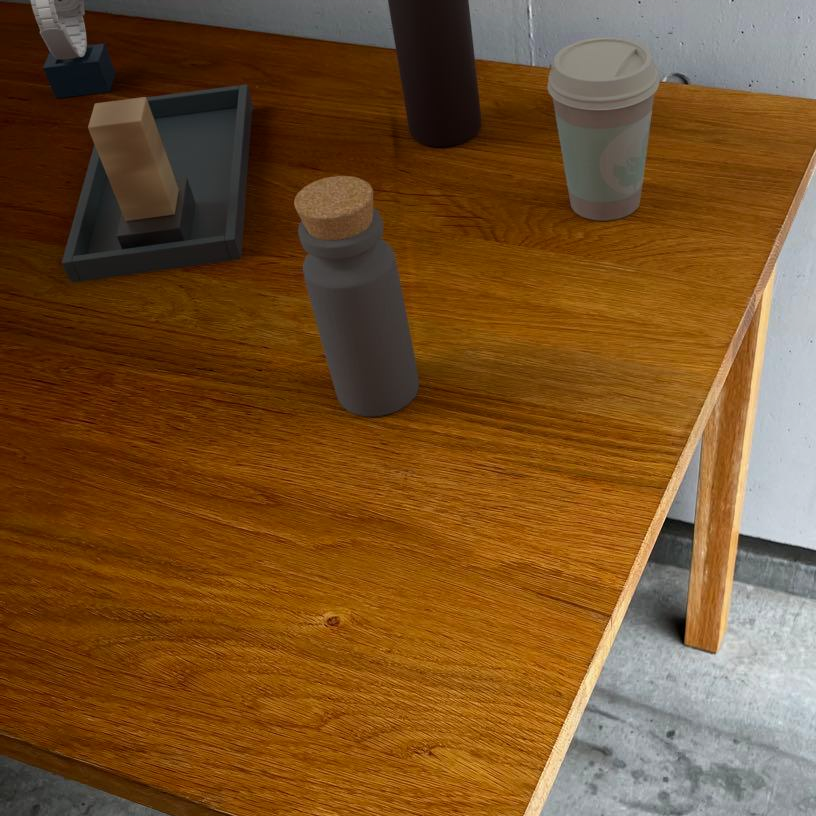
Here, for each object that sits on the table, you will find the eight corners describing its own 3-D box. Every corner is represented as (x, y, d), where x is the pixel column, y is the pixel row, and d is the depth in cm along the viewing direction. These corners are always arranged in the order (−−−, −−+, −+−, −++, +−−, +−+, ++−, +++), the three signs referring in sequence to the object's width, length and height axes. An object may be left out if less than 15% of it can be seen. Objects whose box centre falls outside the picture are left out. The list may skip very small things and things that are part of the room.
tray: (73, 288, 84) (61, 262, 83) (114, 126, 103) (105, 102, 101) (242, 264, 85) (234, 238, 83) (254, 108, 103) (247, 83, 102)
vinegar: (497, 126, 98) (473, -116, 83) (444, 156, 95) (409, -91, 80) (447, 106, 101) (416, -131, 86) (394, 134, 98) (353, -107, 83)
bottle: (406, 354, 76) (367, 161, 65) (430, 402, 72) (393, 206, 61) (328, 377, 75) (274, 184, 64) (348, 427, 71) (295, 232, 60)
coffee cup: (596, 243, 84) (593, 96, 75) (534, 200, 89) (523, 57, 80) (678, 204, 87) (683, 58, 78) (613, 165, 92) (611, 23, 83)
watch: (118, 65, 112) (78, -47, 104) (107, 99, 107) (63, -15, 98) (65, 71, 112) (20, -40, 104) (51, 106, 106) (3, -8, 98)
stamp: (127, 262, 85) (76, 141, 78) (137, 210, 91) (91, 92, 83) (188, 253, 86) (144, 132, 78) (195, 202, 91) (155, 83, 83)
